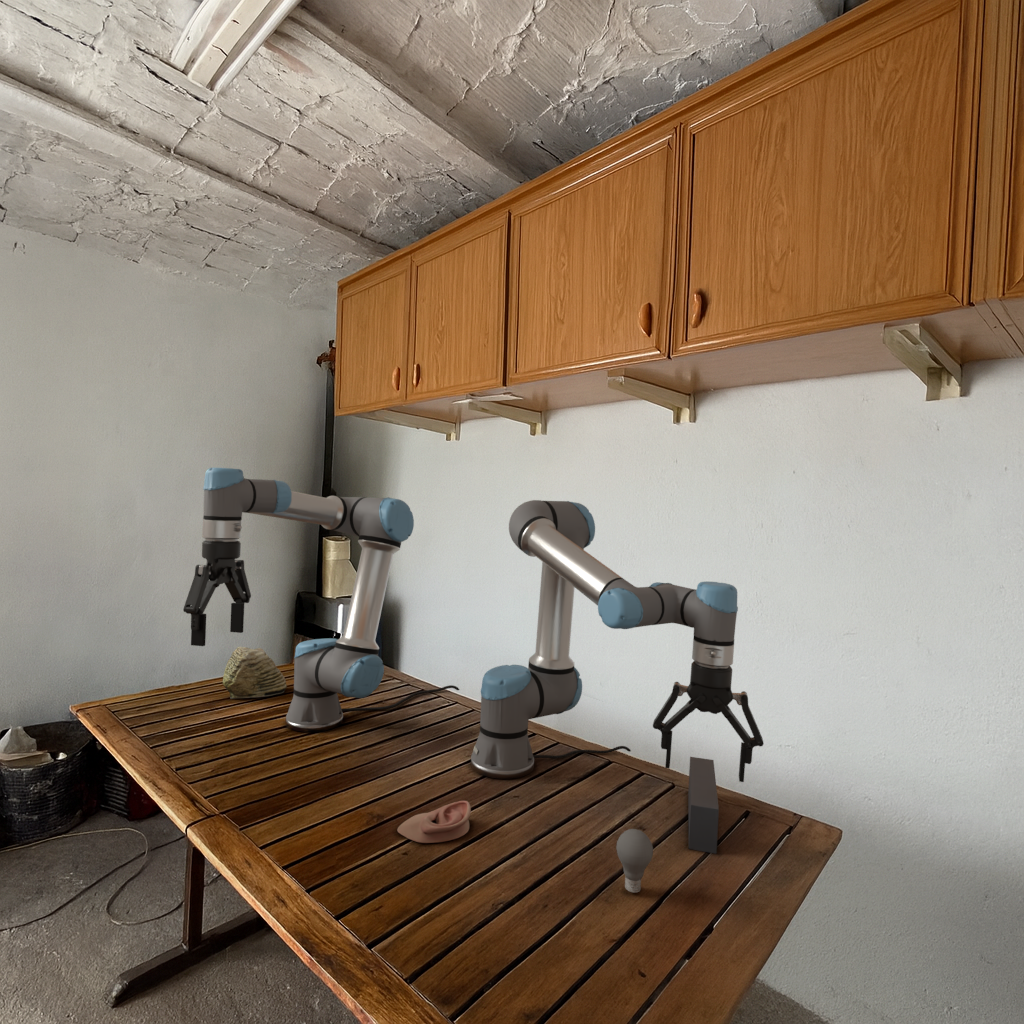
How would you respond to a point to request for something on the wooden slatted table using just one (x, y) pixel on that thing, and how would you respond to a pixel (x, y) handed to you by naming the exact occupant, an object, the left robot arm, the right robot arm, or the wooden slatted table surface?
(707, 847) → the bar
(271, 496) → the left robot arm
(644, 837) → the light bulb
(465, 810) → the anatomical model
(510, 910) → the wooden slatted table surface
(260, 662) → the fossil
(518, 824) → the wooden slatted table surface
